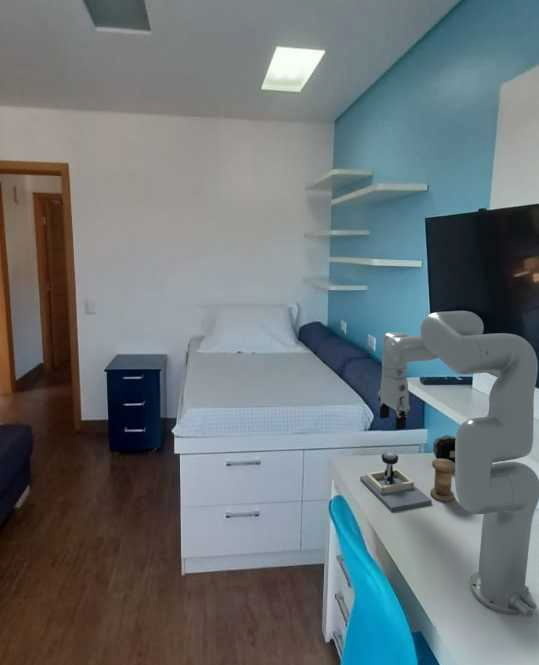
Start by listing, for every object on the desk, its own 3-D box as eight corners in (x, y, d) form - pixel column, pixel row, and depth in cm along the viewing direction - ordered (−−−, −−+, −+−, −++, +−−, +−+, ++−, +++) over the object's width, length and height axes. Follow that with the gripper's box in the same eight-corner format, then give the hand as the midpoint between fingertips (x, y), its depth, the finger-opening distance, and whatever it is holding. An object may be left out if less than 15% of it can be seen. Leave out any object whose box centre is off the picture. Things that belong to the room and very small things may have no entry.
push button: (395, 489, 150) (397, 460, 149) (379, 486, 152) (380, 457, 150) (398, 479, 156) (399, 451, 155) (381, 477, 158) (382, 449, 157)
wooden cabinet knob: (458, 499, 146) (460, 467, 144) (439, 503, 144) (441, 470, 142) (444, 488, 153) (446, 457, 151) (425, 492, 151) (427, 460, 149)
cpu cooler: (457, 459, 173) (459, 433, 171) (466, 466, 168) (468, 440, 166) (431, 461, 172) (432, 435, 170) (438, 468, 166) (440, 442, 165)
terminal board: (431, 503, 144) (432, 494, 143) (391, 511, 140) (391, 501, 139) (396, 474, 163) (396, 465, 162) (360, 479, 159) (360, 471, 158)
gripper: (420, 377, 140) (418, 431, 143) (390, 364, 156) (388, 413, 159) (398, 380, 138) (396, 434, 141) (370, 366, 154) (368, 415, 157)
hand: (392, 423), depth 150 cm, fingers open, 9 cm apart
